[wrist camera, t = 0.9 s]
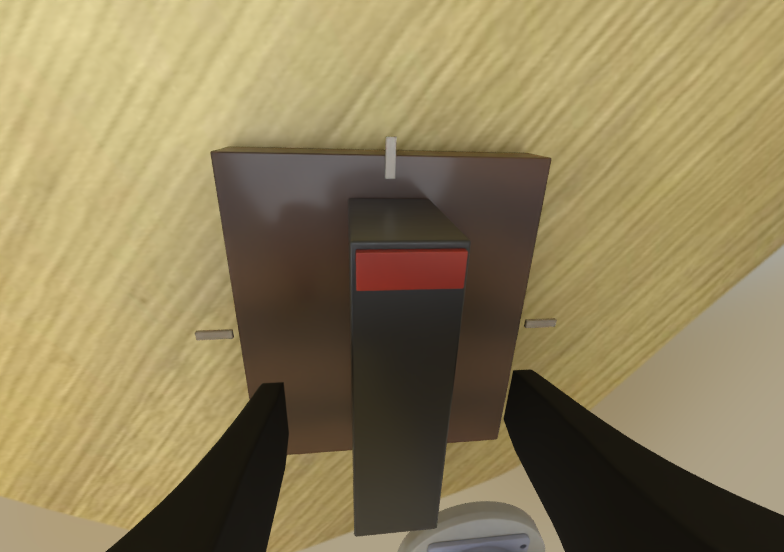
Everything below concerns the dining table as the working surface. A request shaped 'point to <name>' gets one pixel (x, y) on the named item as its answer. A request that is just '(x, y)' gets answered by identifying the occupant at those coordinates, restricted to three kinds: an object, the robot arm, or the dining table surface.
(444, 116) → the dining table surface
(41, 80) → the dining table surface
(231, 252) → the brown pegged board
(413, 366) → the gray bar
